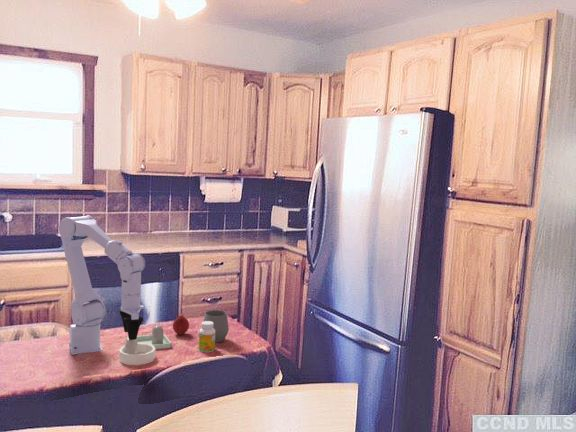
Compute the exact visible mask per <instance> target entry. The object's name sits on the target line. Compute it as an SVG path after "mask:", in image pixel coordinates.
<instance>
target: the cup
mask: <svg viewBox="0 0 576 432" xmlns="http://www.w3.org/2000/svg"><path fill="white" fill-rule="evenodd" d="M204 321H211V322H213V323H214V326H213V328H214V329H215V343H221V342H223V341H224V340H225V339H226V337H227V336H228V333H229V330H230V327H229V321H228V313H227V312H226V311H225V310H220V309H217V310H216V309H215V310H214V309H213V310H212V309H211V310H208V311H205V313H204V317H203V321H202V322H204Z"/></svg>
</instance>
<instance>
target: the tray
mask: <svg viewBox="0 0 576 432" xmlns="http://www.w3.org/2000/svg"><path fill="white" fill-rule="evenodd" d="M128 340H129V337H128V336H126V337H125V343H126V342H127V341H128ZM136 341H137V343H144V344H150V345H152V334H146V335H137V338H136ZM153 346H154V347H155V348H156V350H162V349H163V350H164V349H170V348H171V349H172V347H173V345H172V341H171V340H170V339H169V338H168V337H167V335H166V334H165V333H164V332H163V344H155V345H153Z"/></svg>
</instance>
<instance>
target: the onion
mask: <svg viewBox="0 0 576 432" xmlns="http://www.w3.org/2000/svg"><path fill="white" fill-rule="evenodd" d="M172 329H173V331H174V333H176V334H177V335H178V336H182V335H184V334H186V332H188V330H189V329H190V322H189V321H188V319H187V318H186V317H185V316H184V314H183V313H180V314H179V316H178V317H176V318H175V319H174V321H173V323H172Z"/></svg>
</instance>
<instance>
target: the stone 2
mask: <svg viewBox="0 0 576 432" xmlns="http://www.w3.org/2000/svg"><path fill="white" fill-rule="evenodd" d="M163 333H164V327H162V325H158V324H157V325H154V327H152V330H151V335H152V345H155V344H163Z"/></svg>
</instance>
